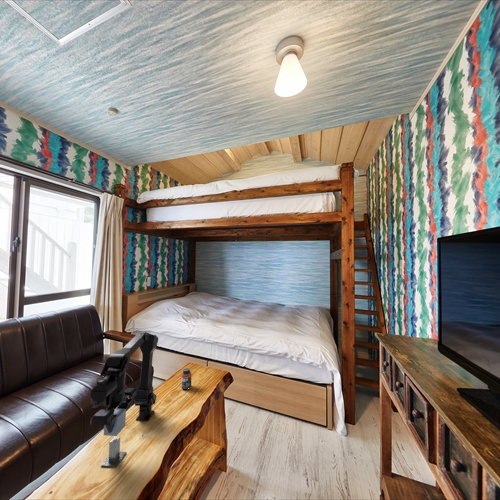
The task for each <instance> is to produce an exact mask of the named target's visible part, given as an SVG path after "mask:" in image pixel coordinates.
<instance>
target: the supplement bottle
mask: <svg viewBox="0 0 500 500" xmlns="http://www.w3.org/2000/svg"><path fill="white" fill-rule="evenodd" d="M190 387H191V388H192V371H191V368H190V367H185V368H183V369H182V373H181V390H182V389H188V388H190ZM191 388H190V389H191ZM188 390H189V389H188Z"/></svg>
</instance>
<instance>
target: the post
mask: <svg viewBox="0 0 500 500" xmlns="http://www.w3.org/2000/svg"><path fill="white" fill-rule="evenodd" d="M120 449H121V436H112V438H111V440H109V442H108V455H107V457H106V459H104V461H103V462H102V464H101V465H100V467H101V468H114V469H115V468H118V466H119V465H120V463H121V461H122V460H123V459H124V458H125V456H126V455H127V451H120Z"/></svg>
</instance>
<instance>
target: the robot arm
mask: <svg viewBox="0 0 500 500" xmlns="http://www.w3.org/2000/svg"><path fill="white" fill-rule="evenodd" d="M158 343H159V337H158V336H157V334H151V333H149V332H146V331H144V332H143V331H139V332H136V334H135V335H134V337H133V338H132V339H130V341H129V342H127V343H126V344H125V346H124V347H123V346H122V348H121V349H117V350H115V351H114V352H112V353H111V354H110V355H109V356H108V357H107V358H106V360H105V362H104V366H103V367H102V370H101V373H100V375H99V377H102V378H101V379H99V380H97V382H96V385H94V387H93V388H92V389H91V391H90V398H91V399H90V405H89V406H90V408H91V409H94V408H98V407H100V406H102V405H103V407H107V408H106V409H99V410H98V411H96V413H95V414H93V416H92V417H90V425H91V426H104V425H105V426H106V428H107V431H108V433H111V432H112V430H113V427H114V424H115V420H116V417H117V415H114V412H115V409H116V408H118V409H126V412H127V411H128V408H129V406H130V404H131V402H132V401H134V405H135V407H136V406H137V407H139V408H138V409H139V410H138V415H137V417H136V418H135V420H136V421H145V422H146V421H149V420H150V419H151V417H152V416H153V415H154V413H155V412H156V411H155V410H154V409H153V405H155V404H156V401H157V394H156V393H154V386H153V383H152V382H151V378H152V370H153V369H152V368H153V356H154V352H155V350H156V349H157V346H158ZM138 349H140V352H141V353H142V356H141V357H142V360H141V368H140V378H139V379H140V381H139V385H138V387H137V389H136V388H135V387H128V385H127V384H126V373H127V372H126V371H127V370H129V366H128V365H129V364H130V362H131V360H132V359H131V357H132V356H133V354H134V353H135V352H137V350H138ZM129 396H130V397H129Z"/></svg>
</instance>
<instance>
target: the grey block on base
mask: <svg viewBox="0 0 500 500" xmlns="http://www.w3.org/2000/svg"><path fill="white" fill-rule="evenodd" d="M126 413H127V411H126V409H118V408H116V409H115V412H114V415H117V417H116V420H115V424H114V427H113V430H112V432H111V433H108V431H107V428H106V426H105V425H103V436H108V437H109V436H111V437H118V435H119V434H120V433H121V432H122V430H124V428H125V427H126V416H127V414H126Z"/></svg>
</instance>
